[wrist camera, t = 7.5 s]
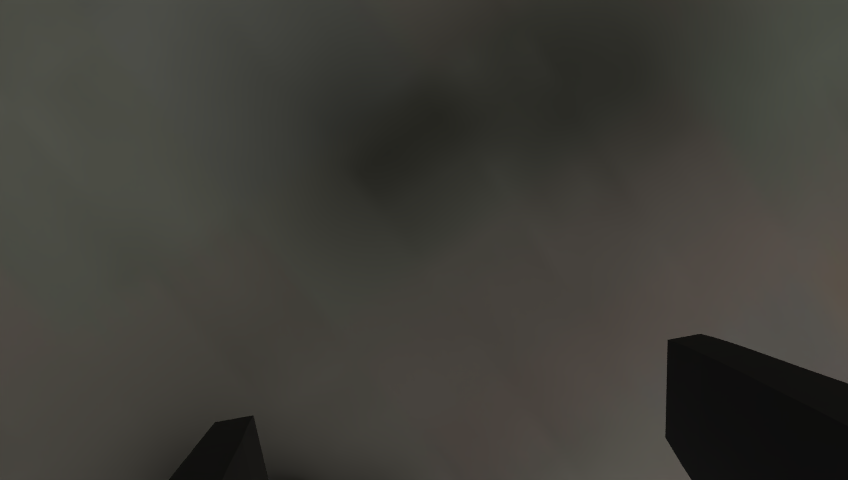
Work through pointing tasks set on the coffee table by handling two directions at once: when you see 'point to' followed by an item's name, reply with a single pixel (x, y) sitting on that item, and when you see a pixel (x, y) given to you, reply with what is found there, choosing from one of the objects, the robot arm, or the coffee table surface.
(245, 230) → the coffee table surface
